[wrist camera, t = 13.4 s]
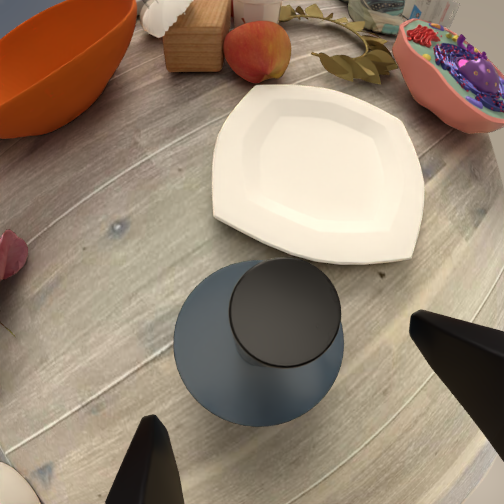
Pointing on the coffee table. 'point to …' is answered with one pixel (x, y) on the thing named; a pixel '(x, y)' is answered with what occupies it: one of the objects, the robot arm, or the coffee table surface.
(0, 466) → the mug
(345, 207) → the plate
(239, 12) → the cup
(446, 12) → the ink box
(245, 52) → the apple
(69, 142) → the coffee table surface
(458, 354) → the robot arm
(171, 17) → the pincushion
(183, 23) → the wooden block
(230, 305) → the lid
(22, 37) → the bowl
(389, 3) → the running shoe
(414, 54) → the cell model
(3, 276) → the flower
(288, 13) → the headpiece
